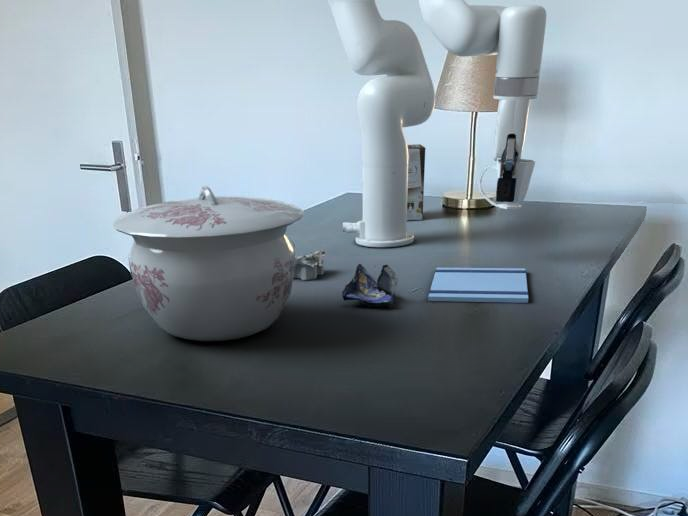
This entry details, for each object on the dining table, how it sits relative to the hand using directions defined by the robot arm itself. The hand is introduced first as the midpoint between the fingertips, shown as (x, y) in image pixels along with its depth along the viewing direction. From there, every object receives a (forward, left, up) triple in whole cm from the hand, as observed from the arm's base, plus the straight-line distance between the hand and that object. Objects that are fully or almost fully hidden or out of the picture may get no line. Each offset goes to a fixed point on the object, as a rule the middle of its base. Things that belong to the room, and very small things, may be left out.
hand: (504, 197), depth 148 cm
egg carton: (-38, -13, -12) cm, 42 cm away
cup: (0, 0, -2) cm, 2 cm away
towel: (-3, -19, -12) cm, 23 cm away
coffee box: (-22, +46, -12) cm, 52 cm away
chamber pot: (-42, -47, -12) cm, 64 cm away
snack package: (-20, -29, -12) cm, 38 cm away
